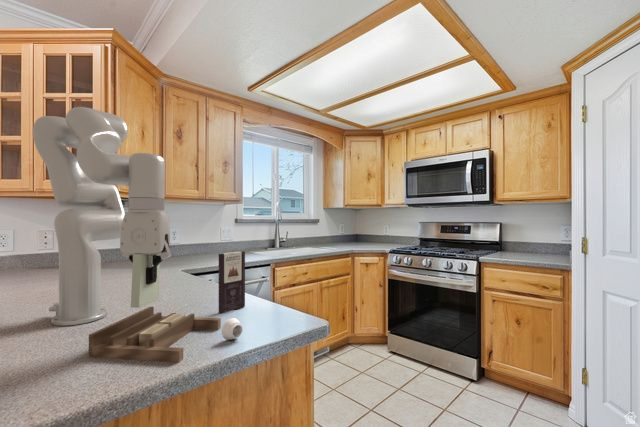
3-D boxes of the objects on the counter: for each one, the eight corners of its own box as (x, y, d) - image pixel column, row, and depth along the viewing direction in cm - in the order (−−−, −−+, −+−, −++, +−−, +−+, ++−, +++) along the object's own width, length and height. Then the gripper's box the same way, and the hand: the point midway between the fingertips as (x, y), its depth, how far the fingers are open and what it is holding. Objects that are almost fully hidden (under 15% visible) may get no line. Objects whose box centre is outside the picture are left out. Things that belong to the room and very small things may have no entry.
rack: (88, 358, 64) (88, 334, 64) (150, 324, 83) (150, 306, 83) (179, 363, 62) (179, 338, 62) (220, 327, 81) (220, 309, 81)
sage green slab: (130, 307, 69) (133, 254, 70) (150, 300, 76) (152, 251, 77) (138, 307, 69) (141, 254, 70) (158, 300, 76) (160, 252, 77)
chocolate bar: (220, 313, 93) (220, 254, 93) (218, 312, 93) (218, 254, 93) (244, 306, 100) (244, 251, 100) (243, 306, 100) (243, 251, 100)
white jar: (238, 335, 76) (238, 315, 76) (245, 338, 74) (245, 317, 74) (220, 342, 72) (220, 320, 72) (228, 345, 70) (228, 323, 70)
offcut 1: (139, 354, 66) (139, 333, 66) (156, 342, 72) (156, 323, 72) (152, 354, 66) (152, 334, 66) (168, 343, 72) (168, 324, 72)
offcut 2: (159, 340, 73) (159, 322, 73) (174, 331, 79) (174, 313, 79) (171, 341, 73) (171, 322, 73) (185, 331, 79) (185, 314, 79)
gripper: (103, 205, 70) (103, 285, 70) (168, 206, 68) (167, 288, 68) (127, 206, 77) (127, 278, 77) (186, 206, 76) (186, 280, 76)
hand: (146, 282), depth 73 cm, fingers closed
